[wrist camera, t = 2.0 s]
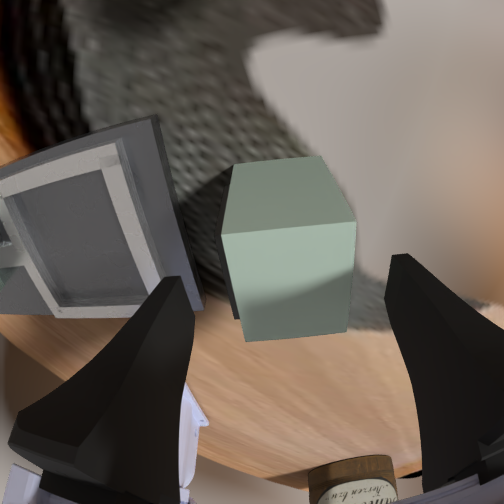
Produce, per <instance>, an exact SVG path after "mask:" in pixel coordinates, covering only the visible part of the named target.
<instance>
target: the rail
mask: <svg viewBox="0 0 504 504" xmlns="http://www.w3.org/2000/svg"><path fill="white" fill-rule="evenodd" d="M180 275H181V278H182V281H183V284H184V287H185V290H186V293H187V295H188V298H189V301H190V304H191V307H192V309H193V311H202V310H204V309H205V303H206V296H205V293H204V290H203V286H202V283H201V280H200V276H199V273H198V270H197V266H196V263H195V259H194V256H193V253H192V249H191V246H190V242H189V239H188V235H187V231H186V228H185V224H184V221H183V217H182V213H181V210H180V206H179V202H178V198H177V194H176V191H175V187H174V183H173V179H172V175H171V171H170V167H169V163H168V159H167V155H166V151H165V146H164V142H163V138H162V134H161V129H160V125H159V121H158V116H157V114H156V115H152V116H147V117H143V118H139V119H135V120H131V121H128V122H124V123H120V124H116V125H113V126H109V127H106V128H102V129H99V130H96V131H93V132H89V133H86V134H83V135H80V136H77V137H74V138H71V139H68V140H65V141H62V142H59V143H57V144H54V145H51V146H48V147H46V148H43V149H40V150H38V151H35V152H33V153H30V154H28V155H25V156H23V157H20V158H18V159H16V160H13V161H11V162H9V163H6V164H4V165H2V166H0V314H20V315H54V316H55V317H56V318H128V317H132V316H133V315H134V313H135V312H136V311H137V310H138V308H139V307H140V306H141V305H142V304H143V302H144V301H145V300H146V299H147V297H148V296H149V295H150V293H151V292H152V291H153V290H154V288H155V287H156V286H157V285H158V283H159V282H160V281H161V280H162V279H163V278H164V277H168V276H180Z"/></svg>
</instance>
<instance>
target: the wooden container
mask: <svg viewBox="0 0 504 504" xmlns="http://www.w3.org/2000/svg"><path fill="white" fill-rule="evenodd" d="M308 482H309V502H310V504H387V503H391V502H395V501H398V494H397V487H396V480H395V477H394V469H393V464H392V459H391V457H389V456H386V455H371V456H363V457H356V458H351V459H346V460H342V461H338V462H334V463H330V464H327V465H324V466H322V467H319V468H316V469H314V470H312V471H311V472H310V473H309V474H308Z"/></svg>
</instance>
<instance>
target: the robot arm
mask: <svg viewBox="0 0 504 504" xmlns="http://www.w3.org/2000/svg"><path fill="white" fill-rule="evenodd" d="M384 300H385V304H386V308H387V313H388V316H389V320H390V324H391V327H392V329H393V332H394V335H395V337H396V340H397V343H398V346H399V348H400V351H401V354H402V356H403V359H404V362H405V365H406V368H407V371H408V373H409V377H410V380H411V384H412V388H413V393H414V398H415V403H416V408H417V415H418V422H419V429H420V439H421V450H422V487H423V492H424V493H423V494H420V495H417V496H414V497H410V498H406V499H403V500H399V501H395V502H391V503H387V504H504V330H503V329H502V328H500V327H499V326H497V325H496V324H494V323H493V322H491V321H490V320H488V319H487V318H486V317H484V316H483V315H481V314H480V313H479V312H477V311H476V310H475V309H473V308H472V307H471V306H469V305H468V304H467V303H466V302H465V301H463V300H462V299H461V298H459V297H458V296H457V295H456V294H455V293H454V292H452V291H451V290H450V289H449V288H448V287H446V286H445V285H444V284H443V283H442V282H441V281H439V280H438V279H437V278H436V277H435V276H434V275H433V274H432V273H430V272H429V271H428V270H427V269H426V268H425V267H424V266H422V265H421V264H420V263H419V262H418V261H417V260H415V259H414V258H413V257H412V256H410V255H409V254H408V253H406V254H397V255H392V257H391V264H390V269H389V275H388V281H387V286H386V292H385V297H384ZM194 327H195V315H194V312H193V309H192V307H191V304H190V301H189V298H188V295H187V293H186V290H185V287H184V284H183V281H182V278H181V275H180V276H168V277H164V278H163V279H162V280H161V281H160V282H159V283H158V285H157V286H156V287H155V288H154V290H153V291H152V292H151V293H150V295H149V296H148V297H147V299H146V300H145V301H144V302H143V304H142V305H141V306H140V307H139V308H138V310H137V311H136V312H135V313H134V315H133V316H132V317H131V318H130V319H129V321H128V322H127V323H126V324H125V325H124V326H123V327H122V329H121V330H120V331H119V332H118V333H117V334H116V335H115V337H114V338H113V339H112V340H111V341H110V342H109V343H108V344H107V345H106V346H105V347H104V348H103V349H102V350H101V351H100V352H99V353H98V354H97V355H96V356H95V357H94V358H93V359H92V360H91V361H90V362H89V363H88V364H86V365H85V366H84V367H83V368H82V369H80V370H79V371H78V372H77V373H76V374H75V375H73V376H72V377H71V378H70V379H69V380H67V381H66V382H65V383H63V384H62V385H61V386H59V387H58V388H56V389H55V390H54V391H52V392H51V393H49V394H48V395H46V396H45V397H43V398H42V399H40V400H38V401H37V402H35V403H33V404H32V405H30V406H28V407H26V408H25V409H23V410H21V411H19V412H18V415H17V418H16V421H15V423H14V426H13V430H12V432H11V435H10V438H9V441H8V445H9V447H10V448H11V449H12V450H13V451H15V452H16V453H17V454H19V455H20V456H22V457H23V458H25V459H27V460H28V461H30V462H32V463H33V464H35V465H36V466H38V467H40V468H42V469H43V473H42V476H41V475H39V474H37V473H35V472H32V471H30V470H28V469H25V468H23V467H21V466H19V465H17V464H12V467H11V470H10V474H9V477H8V481H7V485H6V489H5V493H4V497H3V502H2V504H196V502H195V500H194V499H193V498H191V497H189V490H188V489H184V488H185V487H186V486H187V485H188V484H189V483H190V482H191V480H192V478H193V476H194V473H195V465H196V455H197V445H198V436H199V427H200V426H208V425H209V421H208V420H207V418H206V416H205V415H204V413H203V411H202V410H201V408H200V406H199V405H198V403H197V401H196V400H195V398H194V396H193V395H192V393H191V391H190V389H189V388H188V386H187V384H186V383H185V381H186V376H187V371H188V366H189V361H190V356H191V351H192V346H193V339H194Z"/></svg>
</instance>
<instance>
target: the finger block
mask: <svg viewBox="0 0 504 504" xmlns="http://www.w3.org/2000/svg"><path fill="white" fill-rule="evenodd" d="M214 237H215V242H216V246H217V250H218V255H219V259H220V263H221V267H222V271H223V275H224V280H225V284H226V288H227V292H228V296H229V300H230V304H231V308H232V312H233V316H234V319H240V321H241V325H242V329H243V333H244V338H245V342H252V341H265V340H278V339H289V338H299V337H309V336H318V335H327V334H335V333H343V332H347V325H348V317H349V308H350V299H351V289H352V278H353V266H354V253H355V238H356V220H355V218H354V216H353V214H352V212H351V210H350V208H349V206H348V204H347V202H346V200H345V198H344V196H343V195H342V193H341V191H340V189H339V187H338V185H337V183H336V182H335V180H334V178H333V176H332V174H331V172H330V171H329V169H328V167H327V165H326V164H325V162H324V160H323V158H322V156H312V157H300V158H288V159H278V160H268V161H259V162H251V163H242V164H234V167H233V172H232V177H231V183H230V185H226V186H225V187H224V192H223V196H222V201H221V205H220V210H219V215H218V219H217V224H216V229H215V234H214Z"/></svg>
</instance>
